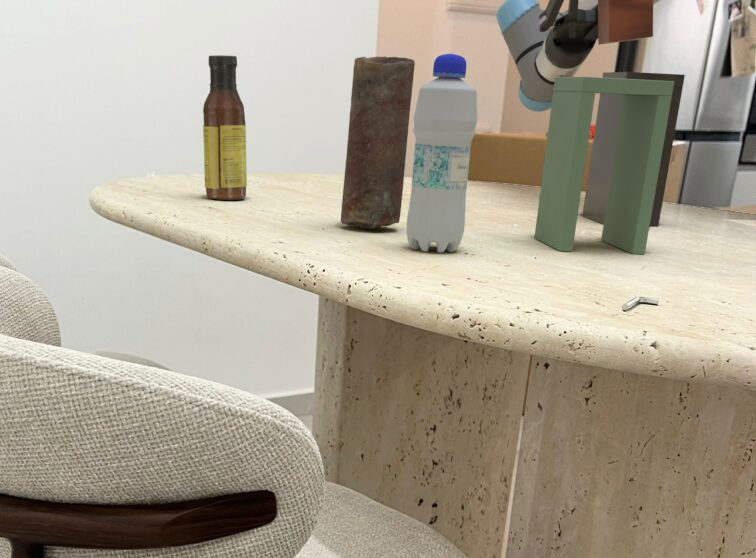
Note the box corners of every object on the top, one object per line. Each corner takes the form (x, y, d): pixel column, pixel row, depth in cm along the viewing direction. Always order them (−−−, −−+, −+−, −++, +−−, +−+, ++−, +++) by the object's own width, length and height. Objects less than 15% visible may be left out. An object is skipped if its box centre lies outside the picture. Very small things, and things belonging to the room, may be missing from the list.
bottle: (448, 256, 100) (469, 52, 93) (392, 249, 103) (407, 51, 96) (473, 250, 105) (494, 56, 98) (418, 242, 109) (435, 54, 101)
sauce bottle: (251, 198, 144) (254, 57, 137) (239, 202, 138) (241, 55, 131) (210, 195, 145) (211, 55, 138) (196, 199, 139) (197, 53, 132)
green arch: (612, 240, 117) (637, 81, 111) (644, 254, 108) (674, 81, 102) (534, 238, 117) (554, 77, 110) (559, 251, 107) (584, 76, 101)
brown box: (626, 42, 149) (626, -34, 145) (653, 36, 133) (653, -49, 129) (587, 47, 150) (586, -29, 146) (608, 42, 133) (608, -43, 130)
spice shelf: (633, 217, 142) (657, 75, 135) (658, 226, 134) (685, 74, 127) (582, 215, 142) (603, 72, 134) (603, 224, 133) (627, 71, 126)
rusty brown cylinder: (411, 229, 119) (425, 57, 112) (383, 235, 113) (397, 54, 106) (358, 222, 123) (369, 56, 115) (329, 227, 117) (338, 52, 110)
